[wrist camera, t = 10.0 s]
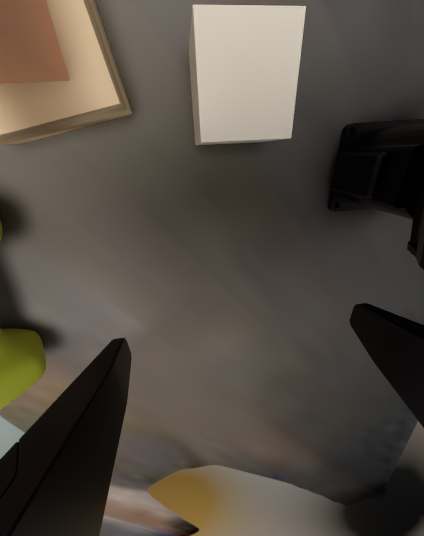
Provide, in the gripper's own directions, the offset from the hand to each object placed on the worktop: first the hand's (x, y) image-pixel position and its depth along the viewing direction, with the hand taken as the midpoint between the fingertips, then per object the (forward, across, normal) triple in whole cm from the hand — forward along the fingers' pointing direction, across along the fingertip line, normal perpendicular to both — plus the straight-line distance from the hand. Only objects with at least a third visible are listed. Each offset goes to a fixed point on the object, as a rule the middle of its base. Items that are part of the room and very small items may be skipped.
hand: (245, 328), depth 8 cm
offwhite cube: (+12, -2, -9) cm, 15 cm away
